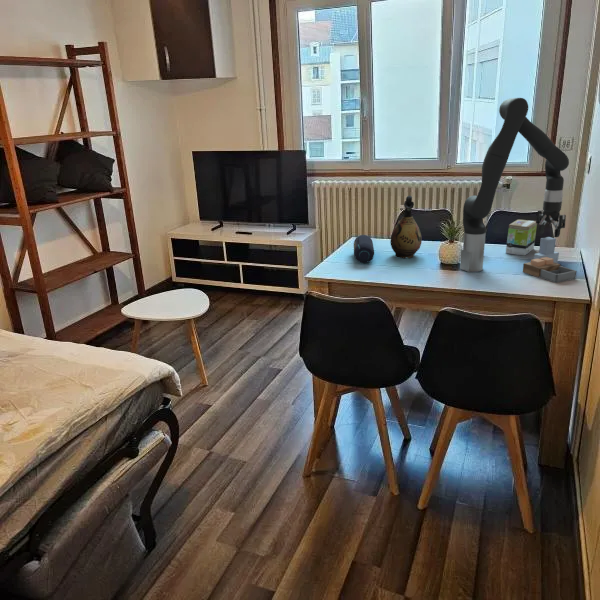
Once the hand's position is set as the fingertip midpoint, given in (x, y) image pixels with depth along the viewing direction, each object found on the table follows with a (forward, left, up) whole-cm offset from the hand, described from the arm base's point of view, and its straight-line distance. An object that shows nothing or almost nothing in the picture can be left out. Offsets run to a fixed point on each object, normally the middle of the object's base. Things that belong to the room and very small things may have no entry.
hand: (548, 235), depth 242 cm
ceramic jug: (-47, +45, -14) cm, 67 cm away
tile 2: (-10, -9, -9) cm, 16 cm away
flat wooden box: (-12, -9, -13) cm, 20 cm away
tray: (-12, -18, -13) cm, 26 cm away
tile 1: (-15, -9, -10) cm, 20 cm away
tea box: (+6, +22, -14) cm, 27 cm away
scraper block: (0, 0, -14) cm, 14 cm away
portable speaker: (-67, +52, -14) cm, 86 cm away
